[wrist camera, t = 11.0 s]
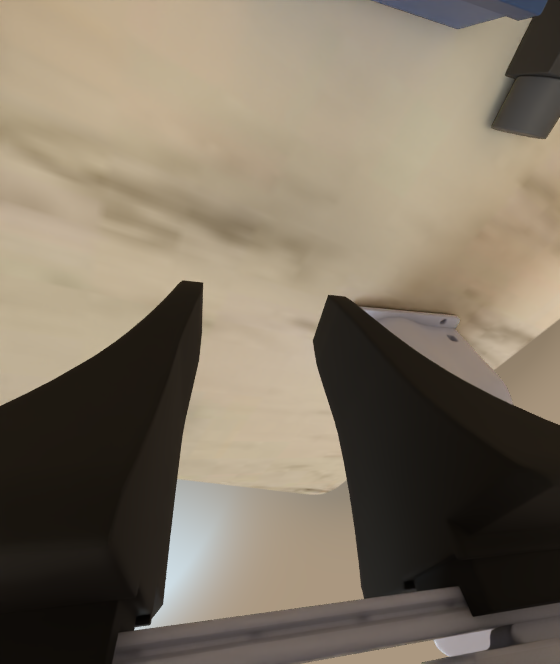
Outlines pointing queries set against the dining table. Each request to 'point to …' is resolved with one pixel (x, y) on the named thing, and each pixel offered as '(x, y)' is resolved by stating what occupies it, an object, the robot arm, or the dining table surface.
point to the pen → (534, 79)
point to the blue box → (468, 10)
